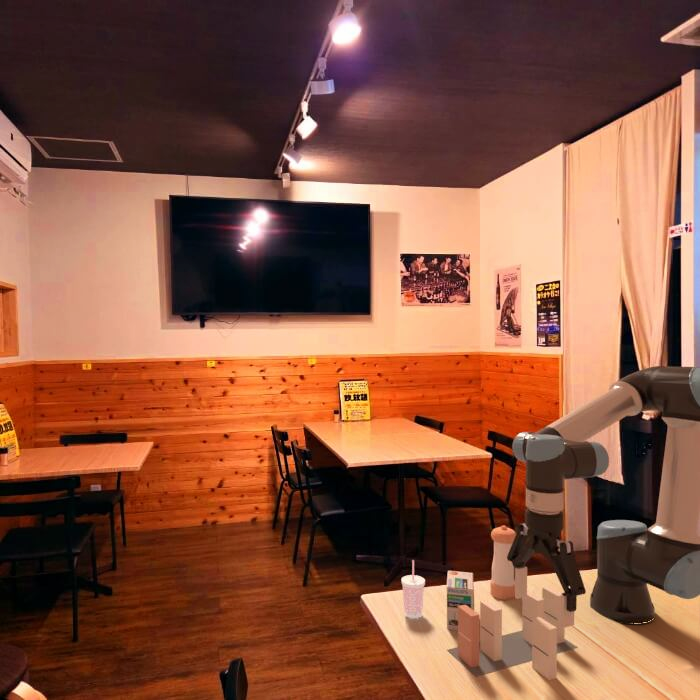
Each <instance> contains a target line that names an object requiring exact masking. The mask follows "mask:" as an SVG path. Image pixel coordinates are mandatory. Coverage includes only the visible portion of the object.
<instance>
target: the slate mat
mask: <svg viewBox="0 0 700 700" xmlns="http://www.w3.org/2000/svg"><path fill="white" fill-rule="evenodd" d="M577 648H578V646H576V645H575V644H573V643H572V642H570V641H569V640H567V639H566V638H565V642H562V643H557V654H559V653H564V652H567V651H570V650H573V649H577ZM446 651H447V652H448V653H449V654H451V656H452V657H453V658H455V660H457V661H458V662H459V663H460V664H461V665H462V666H463V667H464V668H465V669H467V670H468V671H469V672H470V673H471V674H472V675H473V676H474V677H481V676H483V675H487V674H490V673H494V672H497V671H498V672H499V671H501V670H504V669H509V668H511V667H512V668H513V667H515V666H519V665H522V664H526V663H529V662H532V645H531V644H529V643H528V642H526V641H525V640H524V639H522V630H519V631H515V632H510V633H508V634H503V635H502V659H501V660H498V661H493V660H492V659H491V658H490V657H488V656H487V655H486V654H485V653H484V652H482V651H481V650H480V640H479V666H476V667H473V668H471V667H470V666H469V665H468V664H467V663H466V662H464V661H463V660H462V659H461V658H460V657H459V656H458V646H456V647H453V648H450V649H446Z"/></svg>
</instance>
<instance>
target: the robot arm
mask: <svg viewBox="0 0 700 700" xmlns="http://www.w3.org/2000/svg"><path fill="white" fill-rule="evenodd" d="M647 411H656V412H657V411H658V412H661V420H663V422H664V423H665V424H666V425H667V432H666V437H665V438H666V439H665V446H664V455H663V463H662V472H661V480H660V487H659V496H658V501H657V502H658V505H657V511H656V513H657V514H656V519H655V520H656V521H655V523H654V524H653V525H651V526H650V527H647V526H648V525H646V524H645V523H643V522H640V521H636V520H627V519H615V520H614V519H613V520H612V519H610V520H606V521H602V522H601V523H600V524H599V525H598V526H597V535H596V552H597V553H596V561H597V562H596V563H597V565H596V566H597V567H596V568H597V569H596V570H597V577H596V580H595V583H594V585H593V588H592V591H591V593H590V597H589V600H590V601H589V606H590V608H591V609H592V610H594V611H595V612H596V613H598V614H599V615H601V616H603V617H605V618H608V619H611V620H613V621H615V622H616V623H620V622H622V623H621V624H625V623H633V624H632V625H635V624H634V623H643V622H648V621H650V620H652V619H653V618H654V616H655V613H656V612H655V611H656V609H655V606H654V604H653V602H652V597H651V593H650V591H649V587H648V585H650V586H652V587H653V588H656V589H658V590H661V591H663V592H665V593H666V594H668V595H670V596H675V597H678V598H681V599H685V600H691V599H695V598H697V597H699V596H700V535H699V534H698V528H699V520H700V366H668V365H667V366H665V365H655V366H649V367H646V368H644V369H643V368H642V369H641V370H638V371H635V372H632V373H630V374H628V375H626V376H624V377H622V378H620V379H619V380H617V381H615V382H613V383H612V384H610V386H609V388H608V390H607V391H606V392H604V393H602V394H600V395H599V396H597V397H595V398H594V399H592V400H590V401H589V402H587V403H584V404H583V405H581V406H580V407H578V408H576V409H575V410H573V411H571V412H569V413H567V414H566V415H564V416H562V417H561V418H559V419H557V420H555V421H554V422H552V423H550V424H548V425H546V426H545V427H543V428H541V429H539V430H538V431H536V432H533V431H522V432H520V433H518V434H517V435H516V436H515V437H514V439H513V442H512V446H511V447H512V453H513V455H514V457H515V459H517V460H518V461H520V462H522V463H524V464H525V506H526V507H527V508H526V509H525V513H524V514H525V516H524V520H525V521H524V523H519V524H518V523H517V526H516V536H515V539H514V541H513V543H512V546H511V548H510V551H509V553H508V556H507V559H508V561H511V562H512V564H513V566H514V580H515V598H514V599H517V600H518V599H522V598H524V597H527V591H528V567H527V562H528V561H529V559H531V558H532V556H534V554H535V553H537V554H540V555H541V556H543V557H544V558H546V560H547V561H548V562H549V563H551V566H552V568H553V570H554V574H556V577H557V579H558V581H559V583H560V585H561V587H562V590H563V592H561V626H562V627H563V628H567V627H568V628H569V627H572V626H575V612H576V611H577V605H578V604H577V597H578V596H581V595H585V594H586V592H587V591H586V588H585V585H584V581H583V578H582V574H581V572H580V568H579V565H578V562H577V559H576V557H575V550H574V543H573V542H572V541H571V540H568V541H564V540H562V538H561V532H562V531H563V529H564V513H563V512H562V511H563V510H564V502H565V501H564V489H565V487H564V486H565V480H572V479H573V480H575V479H583V478H584V479H585V478H594V477H597V476H601V475H603V474H605V473H606V472H607V470H608V468H609V465H610V457H609V453H608V451H607V449H606V448H605V447H604V445H603V444H601V443H599V442H597V441H588V440H589V439H591V438H592V437H593V436H595V435H597V434H598V433H600V432H602V431H604V430H606V429H607V428H608V427H610V426H612V425H614V424H616V423H617V422H619V421H621V420H622V419H624V418H625V417H633V416H637V415H639V414H640V413H642V412H647ZM654 619H655V618H654Z"/></svg>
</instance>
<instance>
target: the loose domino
mask: <svg viewBox="0 0 700 700" xmlns="http://www.w3.org/2000/svg"><path fill="white" fill-rule="evenodd" d="M557 655H558V653H557V628H556V627H555V626H553V625H551V624H550V623H548V622H547V621H545V620H544V619H542V618H540V617H538V618H533V619H532V661H531V662H532V663H531V667H532V669H534V670H535V671H536V672H538V673H539V674H540V675H541V676H542V677H544V678H545V679H546V680H548V681H553V680H556V679H557V677H558V673H557V672H558V671H557V670H558V665H557V663H558V662H557V661H558V660H557V659H558V656H557Z"/></svg>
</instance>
